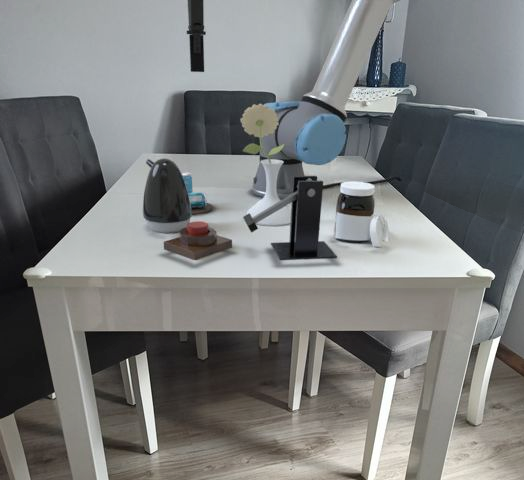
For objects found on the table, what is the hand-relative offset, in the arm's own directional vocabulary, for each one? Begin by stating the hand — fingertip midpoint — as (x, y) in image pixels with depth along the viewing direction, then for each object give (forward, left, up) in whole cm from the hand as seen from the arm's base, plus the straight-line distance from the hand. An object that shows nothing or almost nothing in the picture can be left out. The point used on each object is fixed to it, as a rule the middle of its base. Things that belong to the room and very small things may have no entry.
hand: (197, 71), depth 108 cm
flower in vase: (-7, +14, -31) cm, 34 cm away
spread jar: (-10, +37, -31) cm, 49 cm away
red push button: (+18, +18, -26) cm, 36 cm away
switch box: (+18, +18, -30) cm, 39 cm away
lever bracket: (+5, +33, -30) cm, 45 cm away
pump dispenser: (+13, +3, -31) cm, 33 cm away
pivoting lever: (+8, +30, -21) cm, 38 cm away
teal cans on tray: (-3, -8, -31) cm, 32 cm away
